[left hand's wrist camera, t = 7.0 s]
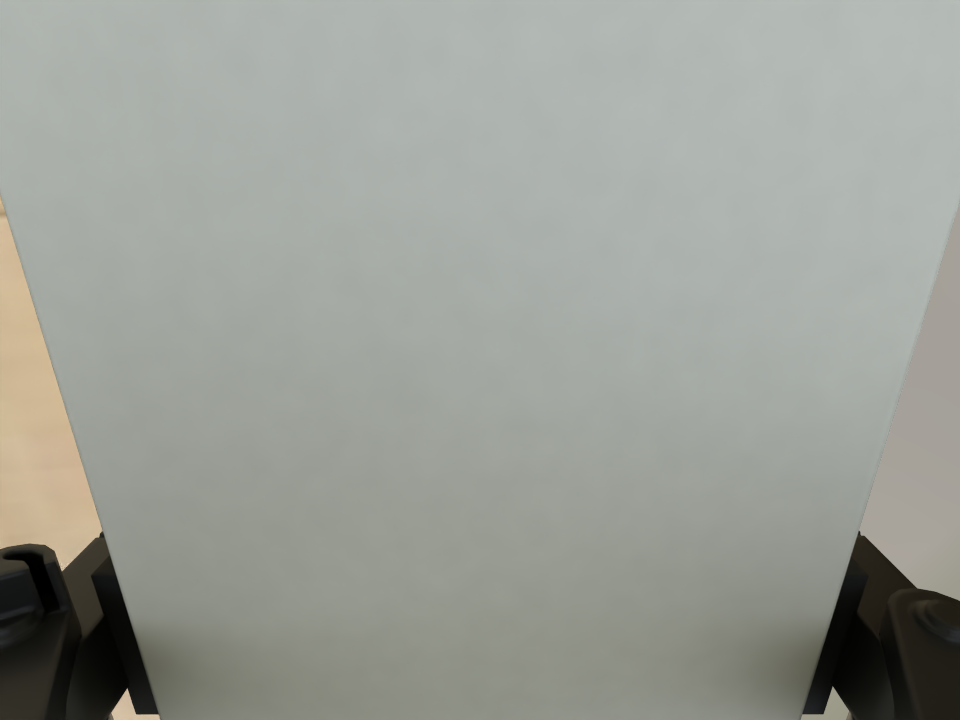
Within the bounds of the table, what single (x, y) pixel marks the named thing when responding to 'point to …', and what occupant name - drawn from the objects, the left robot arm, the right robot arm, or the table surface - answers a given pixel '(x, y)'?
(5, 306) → the table surface
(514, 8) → the grey long rectangular bar
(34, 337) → the table surface
